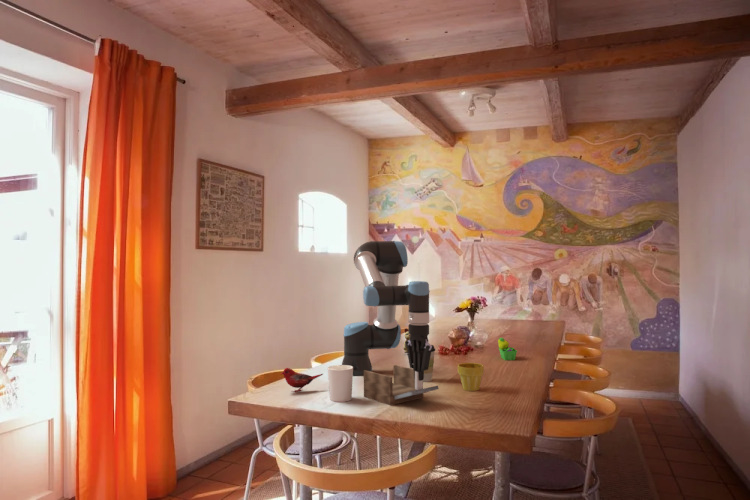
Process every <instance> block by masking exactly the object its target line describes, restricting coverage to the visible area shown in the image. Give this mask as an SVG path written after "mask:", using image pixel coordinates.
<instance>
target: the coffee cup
mask: <svg viewBox="0 0 750 500" xmlns="http://www.w3.org/2000/svg"><path fill="white" fill-rule="evenodd" d="M435 351H436V348H435V346H434V345H433V349H432V351H431V356H430V361H429V367H428V370H425V371H424V379H423V383H428V382H432V381H433V373H434V372H433V371H434V363H435Z"/></svg>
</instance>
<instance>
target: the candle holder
mask: <svg viewBox="0 0 750 500" xmlns="http://www.w3.org/2000/svg"><path fill="white" fill-rule="evenodd" d="M327 376H328V378H327V380H328V393H329V400H330V401H331V402H336V403H344V402H349V401H351V400H352V396H353V381H354V380H353V378H354V377H353V376H354V375H353V367H352V366H349V365H342V364H337V365H330V366H328V367H327Z"/></svg>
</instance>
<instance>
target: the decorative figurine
mask: <svg viewBox="0 0 750 500" xmlns="http://www.w3.org/2000/svg"><path fill="white" fill-rule="evenodd" d="M404 338H405V341H408V340H410V335H409V328H407V327H406V328H404ZM405 341H404V342H403V346H402V347H403V348H402V349H403V350H404V351H403V352H404V354H407V356H408V352H407V347H406V345H405Z"/></svg>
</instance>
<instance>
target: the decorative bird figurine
mask: <svg viewBox="0 0 750 500" xmlns="http://www.w3.org/2000/svg"><path fill="white" fill-rule="evenodd" d="M280 375H283V377H284V378H285V381H286V383H287V385H289V386H290V387H292V388H295V389H296V390H291V391H290V392H292V393H294V392H295V393H298V392H302V391H305V390H304V387H305V386H308V385H309V384H311V383H312V381H313V380H315V379H317V378H320V377H322V376H323V375H324V373H321V374H315V375H313V376H311V375H310V374H305V373H300V372H296V371H295V370H294V369H292V368H289V367H286V368H284V369H283V371H282V372H281V373H280Z"/></svg>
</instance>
